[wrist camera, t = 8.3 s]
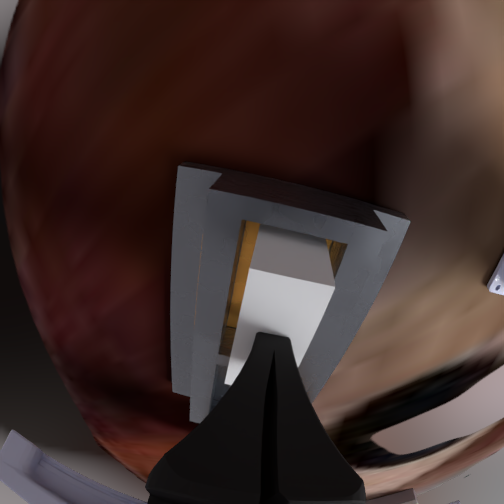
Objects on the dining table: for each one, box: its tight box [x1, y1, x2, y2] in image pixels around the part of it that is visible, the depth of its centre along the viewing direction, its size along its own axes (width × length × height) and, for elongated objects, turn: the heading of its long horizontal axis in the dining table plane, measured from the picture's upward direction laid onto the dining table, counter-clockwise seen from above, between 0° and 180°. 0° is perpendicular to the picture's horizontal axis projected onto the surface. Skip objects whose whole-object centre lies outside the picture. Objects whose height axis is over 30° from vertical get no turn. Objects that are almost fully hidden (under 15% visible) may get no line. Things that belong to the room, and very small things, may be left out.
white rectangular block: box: [224, 224, 335, 385], centre depth 14 cm, size 3×7×5 cm, turn 170°
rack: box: [170, 161, 411, 423], centre depth 18 cm, size 12×20×4 cm, turn 169°
